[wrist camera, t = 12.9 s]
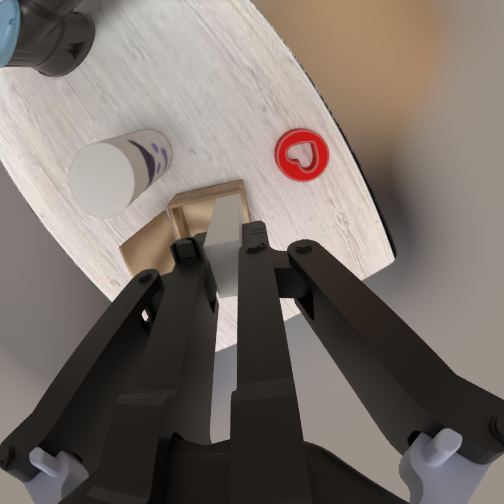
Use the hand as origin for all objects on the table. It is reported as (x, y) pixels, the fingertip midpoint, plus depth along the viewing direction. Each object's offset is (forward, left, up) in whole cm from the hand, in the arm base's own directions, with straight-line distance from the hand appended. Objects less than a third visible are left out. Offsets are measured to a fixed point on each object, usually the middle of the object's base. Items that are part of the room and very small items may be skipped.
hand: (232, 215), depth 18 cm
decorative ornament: (+3, +11, -35) cm, 37 cm away
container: (-3, -17, -35) cm, 39 cm away
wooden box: (+14, -7, -34) cm, 38 cm away
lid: (+14, -15, -20) cm, 29 cm away
